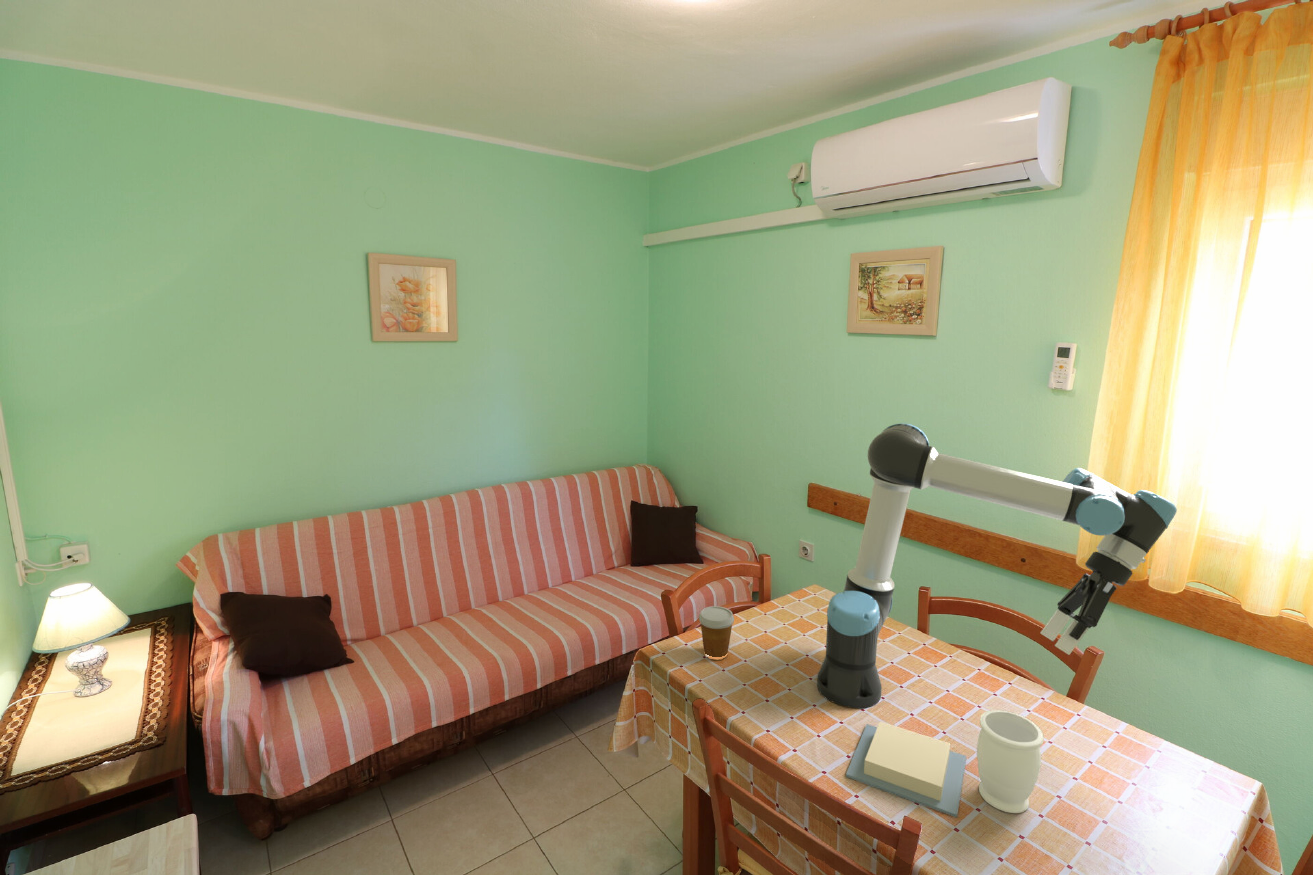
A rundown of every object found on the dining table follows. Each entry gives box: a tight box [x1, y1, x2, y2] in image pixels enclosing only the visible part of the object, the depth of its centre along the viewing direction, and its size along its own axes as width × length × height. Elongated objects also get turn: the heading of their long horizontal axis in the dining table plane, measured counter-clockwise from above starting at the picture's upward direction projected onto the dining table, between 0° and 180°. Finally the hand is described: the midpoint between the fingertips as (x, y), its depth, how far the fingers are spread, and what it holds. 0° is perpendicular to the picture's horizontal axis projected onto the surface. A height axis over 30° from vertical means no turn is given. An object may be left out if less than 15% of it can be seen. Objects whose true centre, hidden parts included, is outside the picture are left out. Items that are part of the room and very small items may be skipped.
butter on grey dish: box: [845, 720, 967, 818], centre depth 124 cm, size 20×18×4 cm
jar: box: [976, 709, 1045, 814], centre depth 116 cm, size 11×10×15 cm
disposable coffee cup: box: [698, 605, 735, 657], centre depth 166 cm, size 10×10×12 cm
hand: (1053, 643), depth 130 cm, fingers open, 13 cm apart
